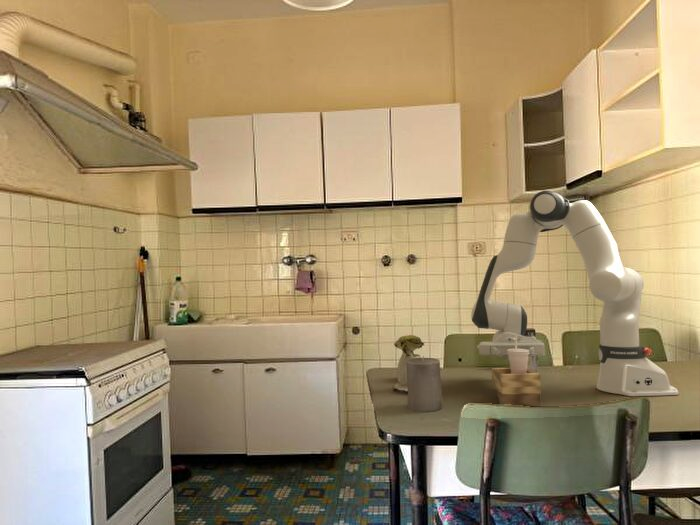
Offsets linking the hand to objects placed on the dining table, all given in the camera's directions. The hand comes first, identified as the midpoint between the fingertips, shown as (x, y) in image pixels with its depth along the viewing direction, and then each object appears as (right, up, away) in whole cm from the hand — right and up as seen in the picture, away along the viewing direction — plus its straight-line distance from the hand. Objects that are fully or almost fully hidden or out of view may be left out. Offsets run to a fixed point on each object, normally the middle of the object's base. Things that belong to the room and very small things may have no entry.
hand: (514, 352), depth 159 cm
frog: (-30, -15, +13) cm, 36 cm away
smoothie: (0, -9, -5) cm, 10 cm away
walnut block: (0, -14, -5) cm, 15 cm away
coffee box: (+18, -15, +43) cm, 49 cm away
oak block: (-1, -10, -5) cm, 11 cm away
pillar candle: (-29, -15, -9) cm, 34 cm away
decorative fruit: (-27, -16, +31) cm, 44 cm away
